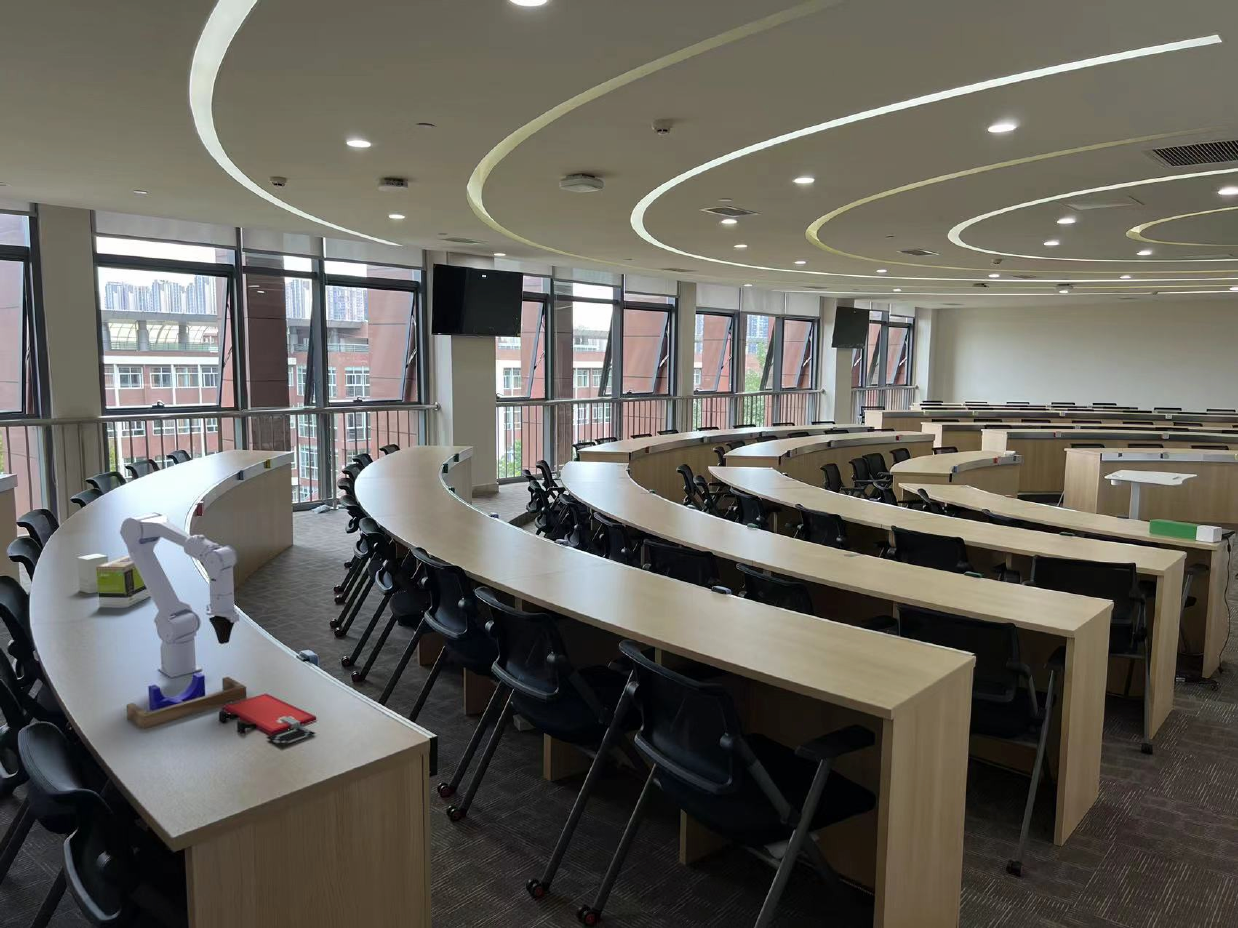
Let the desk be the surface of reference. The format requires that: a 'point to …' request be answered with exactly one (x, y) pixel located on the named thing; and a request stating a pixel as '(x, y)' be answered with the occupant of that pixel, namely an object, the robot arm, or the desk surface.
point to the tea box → (120, 584)
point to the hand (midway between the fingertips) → (223, 642)
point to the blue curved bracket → (191, 693)
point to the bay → (188, 705)
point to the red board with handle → (269, 718)
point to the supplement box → (89, 571)
